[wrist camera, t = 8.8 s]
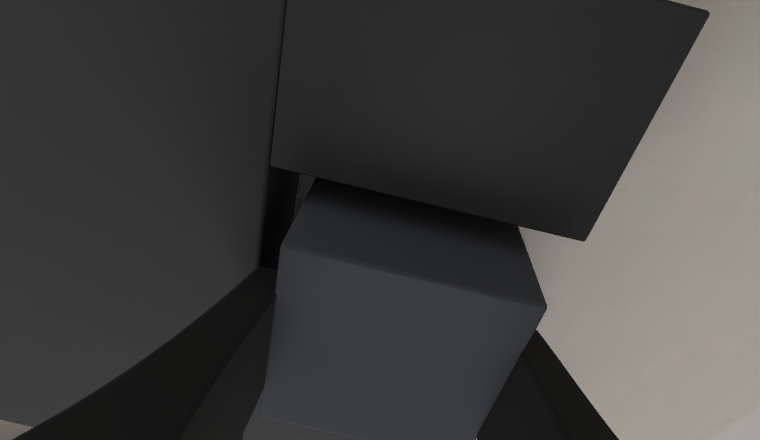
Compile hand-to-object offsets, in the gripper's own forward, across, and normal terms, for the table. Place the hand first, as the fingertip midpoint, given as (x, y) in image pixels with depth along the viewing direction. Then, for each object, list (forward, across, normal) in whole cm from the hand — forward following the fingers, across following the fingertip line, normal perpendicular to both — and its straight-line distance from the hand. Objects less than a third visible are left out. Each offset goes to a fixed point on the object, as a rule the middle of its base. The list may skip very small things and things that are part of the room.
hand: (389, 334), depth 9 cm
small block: (+2, 0, 0) cm, 2 cm away
